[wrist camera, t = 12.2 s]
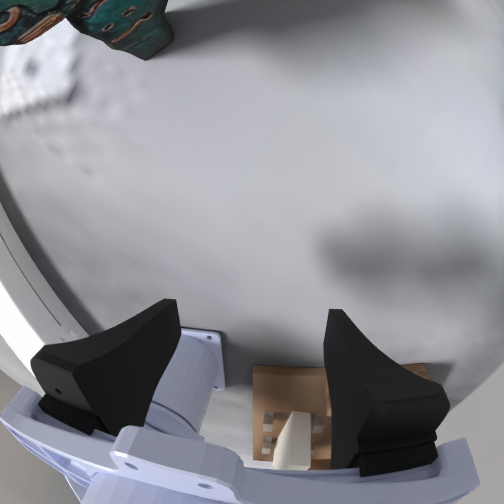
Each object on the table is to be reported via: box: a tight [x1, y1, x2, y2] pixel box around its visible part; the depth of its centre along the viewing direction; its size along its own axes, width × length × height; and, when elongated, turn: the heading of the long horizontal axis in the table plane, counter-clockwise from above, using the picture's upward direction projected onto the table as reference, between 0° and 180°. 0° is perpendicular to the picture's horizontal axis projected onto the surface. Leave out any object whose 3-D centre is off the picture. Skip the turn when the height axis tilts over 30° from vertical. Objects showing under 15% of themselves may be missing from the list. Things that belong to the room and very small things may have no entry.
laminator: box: [0, 202, 89, 378], centre depth 24 cm, size 34×12×6 cm, turn 36°
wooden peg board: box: [253, 363, 431, 470], centre depth 26 cm, size 18×20×5 cm
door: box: [272, 411, 311, 470], centre depth 25 cm, size 3×8×7 cm, turn 170°
